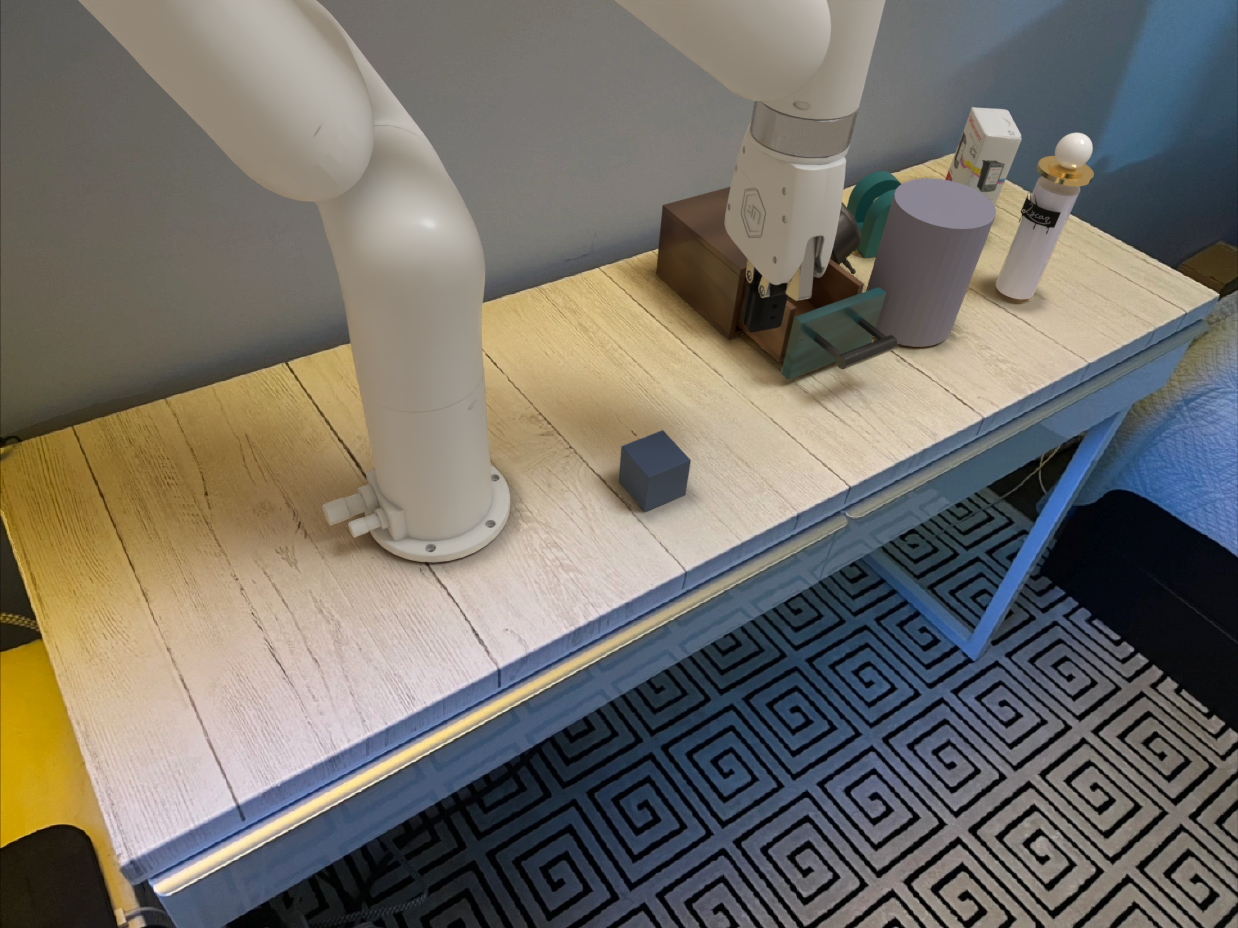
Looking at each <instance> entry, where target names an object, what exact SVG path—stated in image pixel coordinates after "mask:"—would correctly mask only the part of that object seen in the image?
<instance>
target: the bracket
mask: <svg viewBox="0 0 1238 928" xmlns="http://www.w3.org/2000/svg"><path fill="white" fill-rule="evenodd" d="M901 184H902V182H901V181H900V180H899V179H898V178H897V177H896V176H895V175H894V174H892V173H891V172H889V171H886V170H879V171H874V172H871V173H869V174H867V175H865V176H864V177H863V178H861V179H860V180H859V181H858V182H857V183H856V185H855V186H854V187H853V188H852V190H851V192H850V194H849V197H848V200H847V204H846V207H847V208H848V210H849V211H850V212H851V214H852V215H853V216H855V220H856V222H857V224H858V226H859V229H860V232H861V243H860V245H859V247H858V248H857V249H856V250H857V252H859V254H860V255H861V256H862V258H864V259H869V258H876V255H877V252H878V248H879V245H880V242H881V238H882V235H883V231H884V228H885V224H886V221H887V218H888V214H889V211H890V207H891V204H892V200H893V197H894V194H895V191H896V189H897V188H898V187H899V186H900V185H901Z"/></svg>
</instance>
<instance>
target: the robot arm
mask: <svg viewBox="0 0 1238 928" xmlns="http://www.w3.org/2000/svg"><path fill="white" fill-rule="evenodd" d="M77 1H78V2H79V3H80V4H81V5H82V6H83V7H84V8H85V9H86V10H87V11H88V12H89V13H90V14H91V15H92V16H93V17H94V19H96V20H97V21H98V22H99V23H100V24H101V25H102V26H103V28H105V29H106V31H107V32H108V33H109V34H110V35H111V36H112V37H114V39H116V41H118V43H119V44H120V45H121V46H122V47H123V48H124V49H125V50H126V51H127V52H128V53H129V54H130V55H131V57H132V58H133V59H134V60H135V61H136V62H137V64H139V66H140V67H141V68H142V69H143V70H144V72H146V74H148V76H150V77H151V78H152V79H153V81H154V82H156V84H157V85H159V87H160V88H162V89H163V91H165V92H166V94H167V95H169V97H170V98H171V99H172V100H173V101H174V102H175V103H176V104H177V105H178V106H180V108H181V109H182V110H183V111H184V112H185V113H186V114H187V116H189V117H190V118H191V119H192V120H193V121H194V122H195V123H196V124H197V125H198V126H199V127H200V128H201V129H202V130H203V131H204V132H205V133H206V134H207V135H208V137H210V139H211V140H212V141H214V143H215V144H216V145H217V146H218V147H219V148H220V150H221V151H223V153H224V154H225V155H226V156H227V157H228V158H229V159H230V160H231V161H232V162H233V163H234V164H235V165H236V166H237V167H238V168H239V169H240V170H241V171H242V172H243V173H244V174H245V175H246V176H247V177H249V178H250V179H251V180H252V181H254V182H255V183H257V184H259V185H260V186H262V187H263V188H264V189H266V190H268V191H269V192H272V193H275V194H276V195H279V196H281V197H283V198H286V199H290V200H295V201H299V202H314V204H315V205H316V207H317V209H318V212H319V215H320V218H321V220H322V223H323V224H322V225H323V229H324V232H325V235H326V239H327V242H328V245H329V248H330V251H331V254H332V255H331V256H332V258H333V263H334V265H335V269H336V273H337V277H338V282H339V286H340V290H341V295H342V299H343V305H344V311H345V318H346V325H347V330H348V338H349V343H350V348H351V354H352V360H353V361H352V362H353V366H354V371H355V376H356V381H357V384H358V388H359V389H358V390H359V394H360V399H361V405H362V410H363V415H364V421H365V425H366V430H367V435H368V441H369V446H370V451H371V452H370V453H371V457H372V462H373V467H374V469H371V470H368V471H366V472H365V476H366V481H367V484H365V485H362V486H360V487H358V488H357V493H354V494H351V495H348V496H346V497H343V496H341V497H339V498H337V499H333V500H331V501H328V502H325V503H323V504H322V505H321V507H322V511H323V514H324V516H325V519H326V521H327V523H328V525H329V526H334V525H337V524H339V523H343V522H344V521H347V520H350V519H351V518H352V517H355V516H359V515H360V514H363V513H364V517H363V516H362V517H359V518H356V519H353V520H351V521H348V522H347V526H348V529H349V532H350V534H351V537H353V538H357V537H360V536H363V535H365V534H367V533H370V535H371V536H372V538H373V539H374V540H375V542H376V543H377V544H379V545H380V547H382V548H383V549H384V550H386V551H387V552H389V553H391V554H392V555H395V556H397V557H400V558H403V559H405V560H410V561H414V562H420V563H441V562H450V561H455V560H457V559H461V558H462V559H463V558H465V557H467V556H469V555H472V554H475V553H477V552H478V551H479V550H480V551H481V549H483V548H484V547H486V546H488V545H489V544H490V543H491V542H492V541H494V540H495V539H496V538H497V537H498V536H499V534H500V533H501V532H502V530H503V529H504V528H505V525H506V523H507V521H508V520H509V517H510V511H511V495H510V487H509V485H508V483H507V481H506V478H505V477H504V476H503V474H502V473H501V471H499V470H498V469H497V467H495V466H494V465H493V464H491V455H490V453H491V451H490V439H489V438H490V437H489V422H488V407H487V392H486V376H485V365H484V353H483V330H482V329H483V327H482V325H483V323H482V322H483V304H484V295H485V285H486V261H485V255H484V250H483V245H482V241H481V238H480V234H479V231H478V229H477V226H476V223H475V222H474V218H473V217H472V214H471V212H470V211H469V208H468V206H467V204H466V203H465V201H464V199H463V197H462V195H461V193H460V192H459V190H458V188H457V186H456V184H455V183H454V181H453V180H452V177H450V175H449V173H448V172H447V170H446V168H445V165H444V163H443V162H442V161H441V159H440V157H439V155H438V152H437V151H436V150H435V148H434V147H433V145H432V143H431V142H430V141H429V139H428V137H427V136H426V135H425V134H424V132H423V130H421V128H420V126H419V125H418V124H417V122H416V121H415V120H414V119H413V117H412V116H411V115H410V114H409V113H408V110H406V109H405V107H404V106H403V104H402V103H401V102H400V101H399V99H398V98H397V97H396V95H395V94H394V93H393V91H392V90H391V89H390V88H389V87H388V85H387V84H386V82H385V81H384V80H383V78H382V77H381V76H380V75H379V73H378V72H377V70H376V69H375V68H374V67H373V65H372V64H371V63H370V61H369V60H368V59H367V57H366V56H365V55H364V53H362V51H361V49H360V48H359V47H358V45H356V43H355V42H354V40H353V39H352V38H351V36H349V34H348V32H346V30H345V29H344V28H343V26H342V25H341V24H340V23H339V21H337V19H336V18H335V17H334V16H333V14H332V13H331V12H330V11H328V9H327V8H326V7H325V6H324V5H323V4H321V2H319V1H318V0H77ZM613 1H614V2H616V3H617V4H618V5H620V7H622V8H624V9H625V10H626V11H627V12H628V13H629V14H631V15H633V16H634V17H635V18H636V19H637V20H639V21H640V22H641V23H642V24H644V25H646V27H648V28H649V29H650V30H651V31H653V32H654V33H655V34H657V35H658V36H659V37H661V39H663V40H665V41H666V42H667V43H668V44H670V45H671V46H672V47H673V48H675V49H676V50H677V51H679V52H680V54H683V56H685V57H686V58H688V59H689V60H690V61H692V62H693V63H694V64H695V65H697V66H698V67H699V68H701V69H702V70H703V71H704V72H706V73H707V74H708V75H710V76H711V77H712V78H714V79H715V80H716V81H718V82H719V83H720V84H721V85H722V86H724V87H725V88H726V89H727V90H729V91H730V92H732V93H733V94H735V95H736V96H738V97H740V98H742V99H744V100H745V99H746V100H748V101H749V100H750V101H752V102H753V108H752V113H751V120H750V121H749V123H748V125H747V128H746V130H745V132H744V135H743V138H742V141H741V144H740V147H739V151H738V154H737V156H736V157H737V158H736V161H735V165H734V169H733V173H732V174H733V175H732V178H731V182H730V186H729V187H730V192H729V197H728V202H727V208H726V214H725V223H724V224H725V228H726V231H727V233H728V235H729V236H730V238H731V239H732V240H733V241H734V243H735V244H736V245H737V246H738V248H739V249H740V250H741V251H742V253H743V254H744V255H745V256H746V257H747V269H746V278H747V280H748V282H749V283H751V282H752V284H748V286H747V291H746V296H745V302H744V307H743V312H742V318H741V321H742V323H743V324H744V325H746V326H747V329H748V330H749V332H751V333H753V332H758V331H763V330H769V329H774V328H778V327H780V326H781V324H782V320H783V316H784V311H785V307H786V302H787V298H788V296H789V297H791V298H792V299H794V300H795V301H798V300H803V299H809V298H811V295H812V285H813V276H814V277H817V278H819V277H821V276H822V275H823V274H824V272H825V270H826V268H827V266H828V263H829V260H830V256H831V253H832V249H833V245H834V241H835V237H836V232H837V227H838V222H839V216H840V210H841V204H842V202H843V196H844V189H845V179H846V167H847V158H846V156H847V154H848V152H849V149H850V146H851V142H852V138H853V135H854V131H855V130H854V129H855V126H856V122H857V118H858V114H859V109H860V104H861V101H862V97H863V92H864V88H865V84H866V81H867V76H868V73H869V69H870V65H871V61H872V56H873V53H874V48H875V44H876V40H877V36H878V33H879V28H880V24H881V20H882V16H883V12H884V8H885V4H886V0H613Z"/></svg>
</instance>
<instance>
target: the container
mask: <svg viewBox="0 0 1238 928" xmlns="http://www.w3.org/2000/svg"><path fill="white" fill-rule="evenodd" d="M996 215H997V210H996V205H995V206H994V205H993V203H992V202H991V201H990V200H989V199H988V198H987V197H986V196H985V195H983V194H982V193H980V192H979V191H977V190H975V189H973V188H971V187H968V186H966V185H963V184H960V183H957V182H953V181H948V180H945V179H942V178H929V177H927V178H917V179H916V178H915V179H911V180H908V181H905V182H903V183H901V185H900V186H899V187H898V188H897V189H896V191H895V194H894V197H893V200H892V204H891V207H890V211H889V214H888V218H887V221H886V224H885V228H884V231H883V235H882V238H881V242H880V245H879V248H878V252H877V255H876V257H875V259H874V263H873V266H872V269H871V273H870V276H869V279H868V283H867V286H866V290H865V292H866V291H869V290H871V289H874V288H877V287H879V288H881V289H882V290H883V291H885V292H886V296H885V299H884V302H883V305H882V309H881V312H880V315H879V318H878V321H877V325H876V329H878V330H879V331H880V332H881V333H883V334H884V335H885V336H886V337H887V336H889V335H893V336H894V337H895V338H896V339H897V342H898V345H902V346H905V347H906V346H907V347H916V348H918V347H919V348H923V347H931V346H934V345H938V344H941V343H942V342H944V341H946V340H947V339H948V337H949V336H950V335H951V333H952V330H953V327H954V325H955V322H956V320H957V317H958V314H959V312H960V309H961V306H962V304H963V302H964V299H965V296H966V294H967V291H968V289H969V286H970V284H971V281H972V278H973V276H974V274H975V271H976V268H977V265H978V263H979V260H980V257H981V255H982V252H983V249H984V247H985V245H986V242H987V240H988V236H989V235H990V231H991V228H992V226H993V223H994V221H995V218H996Z"/></svg>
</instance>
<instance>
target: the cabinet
mask: <svg viewBox="0 0 1238 928" xmlns="http://www.w3.org/2000/svg"><path fill="white" fill-rule="evenodd" d="M730 187H731V186H728V187H724V188H720V189H717V190H712V191H709V192H706V193H702V194H699V195H695V196H690V197H687V198H684V199H680V200H676V201H672V202H667V203H664V204H662V205H661V206H662V207H661V217H660V218H661V219H660V229H659V239H658V250H657V257H656V258H657V260H656V268H655V274H656V276H657V277H659V278H660V279H661V280H662V281H663V282H664V283H665V284H666V285H667V286H669V287H670V288H671V289H672V291H674V292H675V293H676V294H677V295H679V296H680V298H681V299H683V300H684V301H685V302H686V303H687V304H688V305H690V306H691V308H692V309H694V310H695V311H696V312H697V313H698V314H699V315H700V316H702V318H704V319H705V320H706V321H707V322H708V323H709V324H710V325H711V326H712V327H714V328H715V330H716V331H718V332H719V333H720V334H721V335H723V337H724V338H726V339H727V340H728V341H731V340H732V339H735V338H738V337H741V336H744V335H747V334H746V333H745V332H744V331H743V330H742V329H740V328H739V327H738V326H737V325H736V323H737V318H738V312H739V306H740V301H741V295H742V289H743V284H744V278H745V274H746V269H747V257H746V256H745V255H744V254H743V253H742V251H741V250H740V249H739V248H738V246H737V245H736V244H735V243H734V241H733V240H732V239H731V238H730V236H729V235H728V233H727V231H726V228H725V224H724V223H725V214H726V208H727V202H728V197H729V192H730Z"/></svg>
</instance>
